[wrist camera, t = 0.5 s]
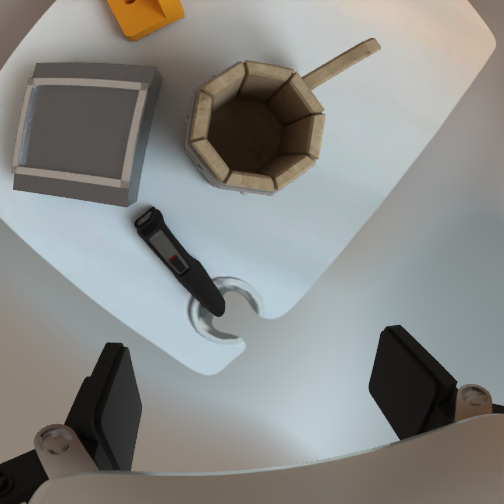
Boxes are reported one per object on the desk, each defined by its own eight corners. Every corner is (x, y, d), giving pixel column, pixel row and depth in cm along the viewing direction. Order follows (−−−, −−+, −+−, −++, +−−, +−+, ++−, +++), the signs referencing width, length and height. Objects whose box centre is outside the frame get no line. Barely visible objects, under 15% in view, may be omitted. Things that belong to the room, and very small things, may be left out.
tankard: (231, 210, 39) (244, 240, 25) (167, 127, 35) (141, 108, 21) (357, 119, 38) (427, 105, 23) (300, 39, 34) (345, -12, 20)
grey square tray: (53, 71, 31) (33, 61, 25) (162, 78, 33) (154, 65, 28) (32, 185, 34) (9, 190, 29) (136, 201, 37) (124, 208, 32)
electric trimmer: (208, 313, 43) (209, 325, 40) (133, 222, 38) (127, 228, 35) (231, 298, 43) (233, 308, 40) (156, 203, 38) (152, 207, 35)
